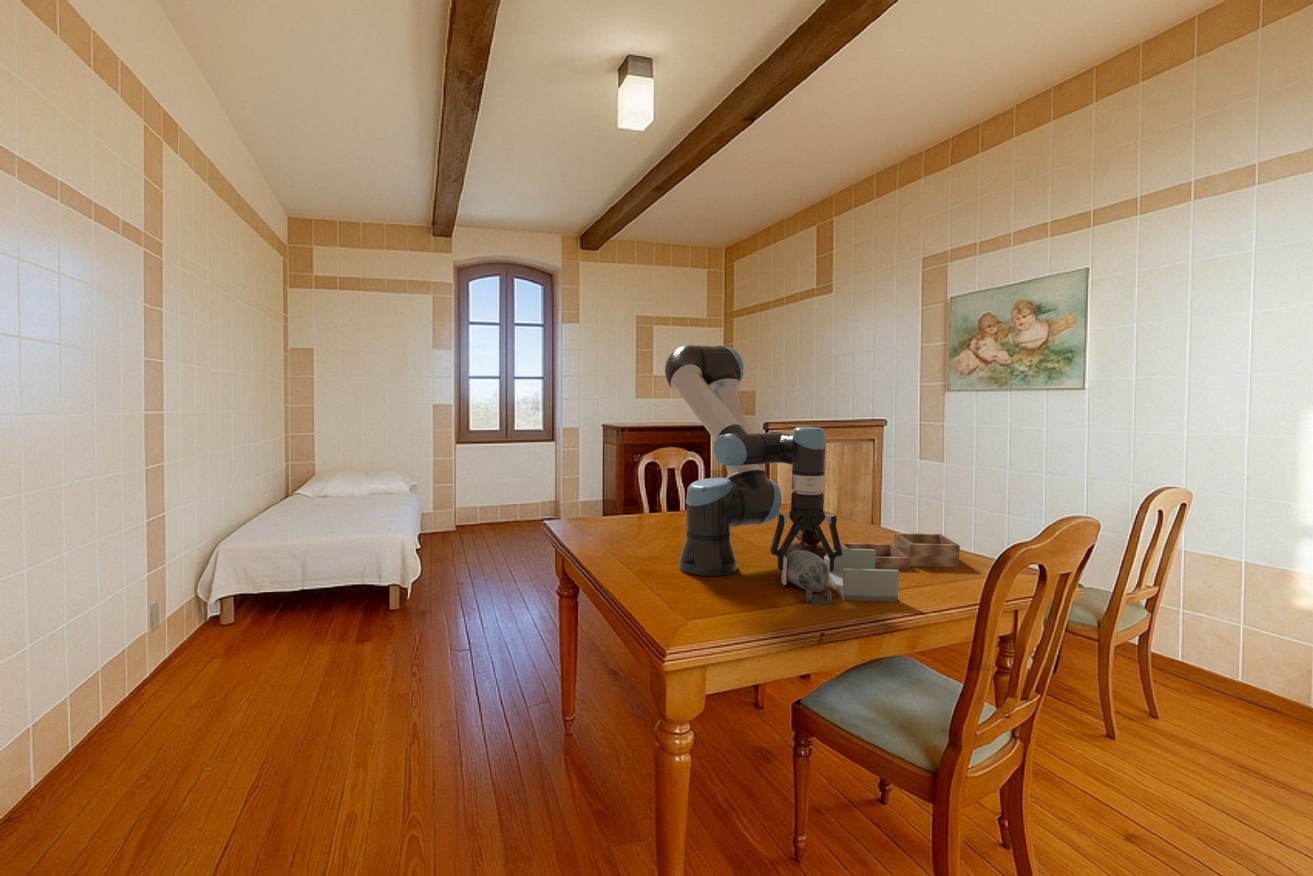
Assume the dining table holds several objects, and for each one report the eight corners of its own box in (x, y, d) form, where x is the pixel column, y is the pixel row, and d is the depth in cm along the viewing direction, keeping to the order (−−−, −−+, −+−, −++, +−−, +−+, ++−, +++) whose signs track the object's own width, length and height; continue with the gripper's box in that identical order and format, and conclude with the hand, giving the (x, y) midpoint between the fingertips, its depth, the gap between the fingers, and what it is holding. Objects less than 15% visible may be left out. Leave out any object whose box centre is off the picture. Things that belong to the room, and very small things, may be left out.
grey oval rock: (842, 581, 145) (821, 542, 146) (807, 601, 144) (785, 562, 145) (824, 578, 159) (804, 542, 160) (791, 596, 157) (772, 560, 159)
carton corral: (909, 566, 170) (910, 544, 169) (893, 553, 183) (894, 533, 182) (958, 567, 169) (959, 545, 169) (939, 554, 182) (940, 534, 182)
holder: (843, 600, 142) (844, 569, 142) (825, 575, 161) (826, 548, 161) (897, 601, 142) (898, 571, 141) (873, 576, 161) (874, 549, 160)
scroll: (774, 553, 181) (775, 485, 180) (823, 552, 183) (825, 484, 181) (790, 568, 167) (792, 494, 165) (844, 567, 168) (846, 493, 167)
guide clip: (808, 603, 140) (808, 590, 140) (805, 599, 143) (806, 586, 143) (830, 604, 140) (831, 591, 139) (827, 599, 142) (828, 586, 142)
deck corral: (852, 567, 168) (852, 556, 168) (838, 553, 183) (839, 542, 182) (909, 569, 167) (910, 558, 167) (891, 554, 182) (891, 544, 182)
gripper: (762, 493, 147) (760, 587, 149) (858, 495, 146) (855, 589, 148) (759, 488, 154) (757, 577, 156) (850, 490, 153) (847, 579, 155)
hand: (804, 583), depth 152 cm, fingers closed on grey oval rock, 9 cm apart
